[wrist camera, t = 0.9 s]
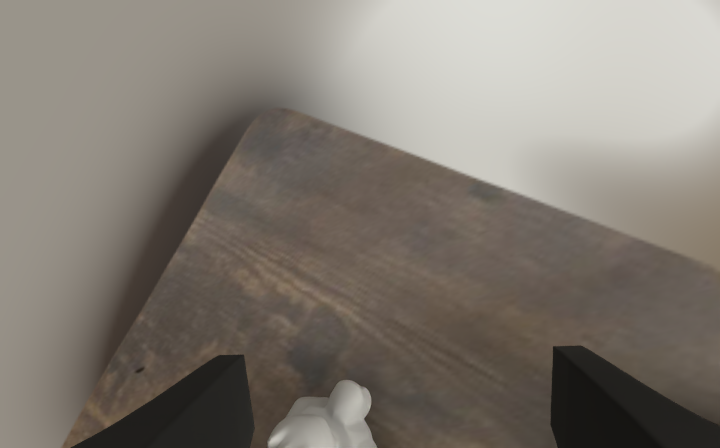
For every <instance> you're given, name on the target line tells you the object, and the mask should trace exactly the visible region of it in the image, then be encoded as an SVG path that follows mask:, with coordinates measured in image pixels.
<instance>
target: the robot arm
mask: <svg viewBox="0 0 720 448" xmlns="http://www.w3.org/2000/svg"><path fill="white" fill-rule="evenodd" d="M551 427H552V431H553V434H554V437H555V440H556V443H557V447H558V448H720V426H718V425H716V424H714V423H712V422H710V421H708V420H706V419H704V418H702V417H700V416H699V415H697V414H695V413H693V412H691V411H689V410H688V409H686V408H684V407H682V406H680V405H678V404H677V403H675V402H673V401H671V400H670V399H668V398H666V397H664V396H663V395H661V394H659V393H658V392H656V391H654V390H653V389H651V388H649V387H648V386H646V385H644V384H643V383H641V382H640V381H638V380H636V379H635V378H633V377H632V376H630V375H628V374H627V373H625V372H624V371H622V370H620V369H619V368H617V367H616V366H614V365H613V364H611V363H609V362H608V361H606V360H605V359H603V358H602V357H600V356H598V355H597V354H595V353H593V352H592V351H590V350H588V349H586V348H585V347H583V346H553V367H552V396H551ZM254 429H255V427H254V420H253V413H252V407H251V400H250V393H249V386H248V379H247V373H246V366H245V359H244V355H219V356H217V357H215V358H213V359H212V360H210V361H208V362H207V363H205V364H204V365H202V366H201V367H199V368H198V369H196V370H195V371H194V372H192V373H191V374H189V375H188V376H186V377H185V378H183V379H182V380H181V381H179V382H178V383H176V384H175V385H173V386H172V387H170V388H169V389H167V390H166V391H165V392H163V393H162V394H160V395H159V396H157V397H156V398H154V399H153V400H151V401H150V402H148V403H146V404H145V405H143V406H142V407H140V408H139V409H137V410H135V411H134V412H132V413H131V414H129V415H127V416H126V417H124V418H123V419H121V420H120V421H118V422H116V423H115V424H113V425H111V426H110V427H108V428H106V429H104V430H103V431H101V432H99V433H97V434H96V435H94V436H92V437H90V438H88V439H86V440H84V441H82V442H81V443H79V444H77V445H75V446H73V447H71V448H250V444H251V440H252V436H253V433H254Z"/></svg>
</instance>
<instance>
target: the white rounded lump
mask: <svg viewBox="0 0 720 448" xmlns="http://www.w3.org/2000/svg"><path fill="white" fill-rule="evenodd" d="M370 407H371V396H370V393H369V391H368V390H367V389H366V388H365V387H363V386H359V385H358V384H357V383H355V382H354V381H351V380H342V381H340V382H338V383H337V385H336V386H335V388H334V390H333V391H332V393H331V395H330V397H329V398H327V397H302V398H299V399H298V400H296V402H295V403H294V405H293V406H292V408H291V410H290V411H289V413H288V415H287V416H286V418H285V419H283V420H282V421H281V422H279V423H278V424H277V426H276V427H275V428H274V430H273V431H272V433H271V435H270V438H269V439H268V441H267V448H377V446H376V444H375V442H374V441H373V439H372V434H371V431H370V429H369V427H368V425H367V424H366V422H365V420H364V418H365V417H366V415H367V414H368V412H369V410H370Z"/></svg>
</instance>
